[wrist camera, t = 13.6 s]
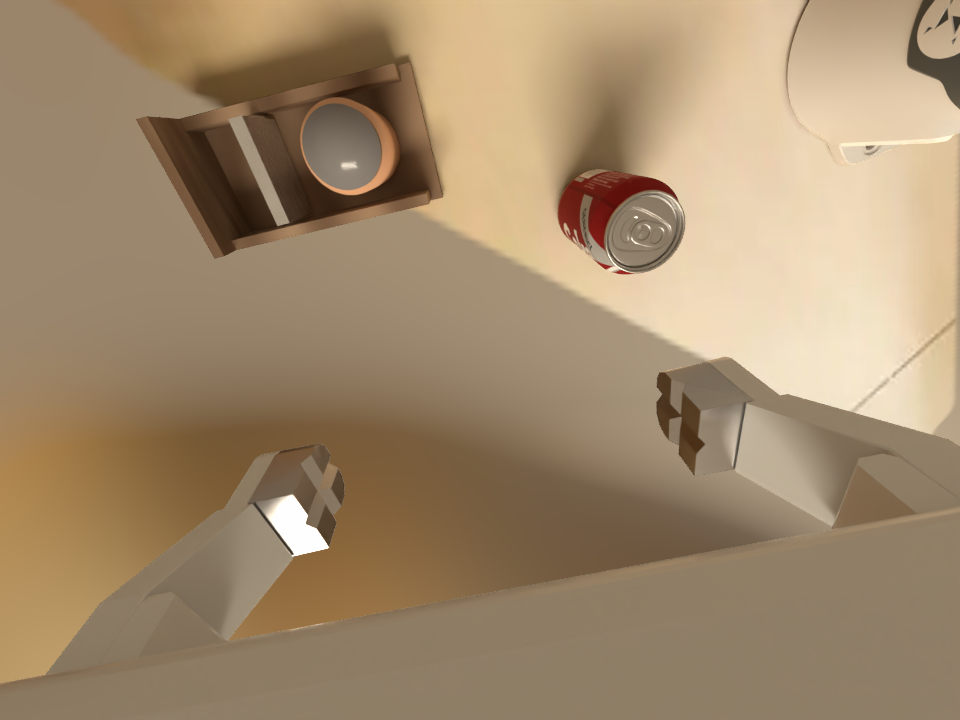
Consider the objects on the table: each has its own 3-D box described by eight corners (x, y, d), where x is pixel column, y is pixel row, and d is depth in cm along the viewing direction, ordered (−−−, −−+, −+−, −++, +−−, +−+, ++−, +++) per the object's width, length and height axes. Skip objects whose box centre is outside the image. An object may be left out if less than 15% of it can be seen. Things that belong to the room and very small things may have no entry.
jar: (392, 102, 31) (375, 90, 25) (406, 183, 34) (394, 191, 28) (319, 111, 31) (283, 101, 25) (339, 191, 34) (311, 200, 28)
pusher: (274, 119, 31) (241, 115, 26) (312, 211, 35) (289, 223, 30) (243, 127, 31) (206, 124, 26) (284, 218, 35) (258, 230, 30)
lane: (410, 63, 30) (400, 45, 25) (442, 196, 35) (440, 207, 30) (192, 120, 31) (134, 115, 26) (253, 242, 36) (216, 260, 31)
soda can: (568, 160, 35) (618, 168, 24) (637, 177, 36) (713, 192, 25) (546, 236, 38) (582, 272, 27) (610, 249, 39) (667, 289, 28)
